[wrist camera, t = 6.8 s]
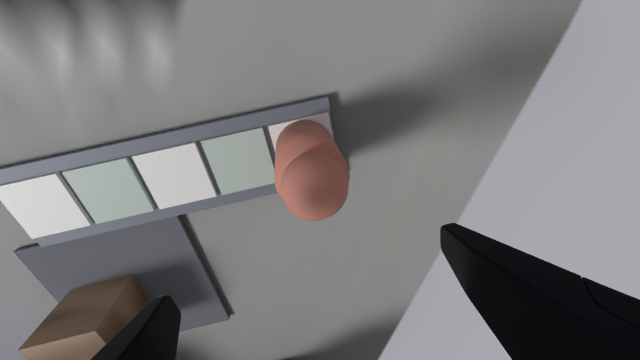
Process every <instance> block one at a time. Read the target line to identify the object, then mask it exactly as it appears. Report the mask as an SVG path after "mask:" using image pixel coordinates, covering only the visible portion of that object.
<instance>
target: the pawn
mask: <svg viewBox="0 0 640 360" xmlns="http://www.w3.org/2000/svg"><path fill="white" fill-rule="evenodd" d="M274 181H275V187H276V190H277V192H278V194H279V196H280V197H281V198H282V199H283V201H284V203H285V205H286V206H287V208H288V209H289V210H290V211H291V212H292V213H294V214H295V215H297V216H298V217H300V218H303V219H306V220H314V221H315V220H323V219H326V218H328V217H330V216H332V215H334V214H335V213H336V212H337V211H339V209H340V208H341V207H342V205H343V204H344V202H345V200H346V198H347V194H348V183H349V168H348V165H347V162H346V160H345V158H344V157H343V155H342V153H341V152H340V150H339V148H338V147H337V145H336V143H335V141H334V140H333V138H332V136H331V135H330V133H329V131H328V130H327V129H326V128H325V127H324V126H323V125H321V124H320V123H318V122H315V121H312V120H298V121H295V122H293V123H291V124H289V125H287V126H286V127H285V128H284V129H283V130H282V131H281V133H280V134H279V136H278V139H277V142H276V153H275V175H274Z"/></svg>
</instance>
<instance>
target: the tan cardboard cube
mask: <svg viewBox="0 0 640 360" xmlns="http://www.w3.org/2000/svg"><path fill="white" fill-rule="evenodd" d="M149 302H150V300H149V299H148V297H147V296H146V294H145V293H144V292H143V290H142V289H141V287H140V286H139V284H138V283H137V281H136V280H135V278H134V277H133V275H129V276H125V277H121V278H117V279H113V280H109V281H105V282H101V283H97V284H93V285H88V286H84V287H80V288H76V289H72V290H70V291H69V292H68V293H67V294H66V296H65V297H64V298H63V299H62V300H61V301H60V303H59V304H58V305H57V306H56V307H55V308H54V309H53V311H52V312H51V313H50V314H49V315H48V316H47V317H46V319H45V320H44V321H43V322H42V323H41V324H40V325H39V327H38V328H37V329H36V330H35V331H34V332H33V333H32V335H31V336H30V337H29V338H28V339H27V340H26V341H25V343H24V344H23V345H22V346H21V347H20V348H19V350H18V351H19V352H20V353H21V354H22V355H23V356H25V357H26V358H27V359H28V360H90V359H91V358H92V357H93V356H94V355H95V354H96V353H97V352H98V351H100V350H101V349H102V348H103V347H104V346H105V345H106V344H107V343H108V342H109V341H110V340H111V339H112V338H113V337H114V336H115V335H116V334H117V333H118V332H119V331H120V330H121V329H122V328H123V327H124V326H125V325H126V324H127V323H128V322H129V321H130V320H132V319H133V318H134V317H135V316H136V315H137V314H138V313H139V312H140V311H141V310H142V309H143V308H144V307H145V306H146V305H147V304H148V303H149Z"/></svg>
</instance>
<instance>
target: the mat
mask: <svg viewBox="0 0 640 360" xmlns="http://www.w3.org/2000/svg"><path fill="white" fill-rule="evenodd" d="M14 253H15V254H16V255H17V256H18V257H19V259H20V260H21V261H22V262H23V263H24V264H25V265H26V266H27V268H28V269H29V270H30V271H31V272H32V273H33V274H34V275H35V277H36V278H37V279H38V280H39V281H40V282H41V283H42V284H43V286H44V287H45V288H46V289H47V290H48V291H49V292H50V293H51V295H52V296H53V297H54V298H55V299H56V300H57V301H58V302H59V303H60V301H61V300H62V299H63V298H64V297H65V296H66V294H67V293H68V292H69V291H70V290H72V289H76V288H80V287H84V286H88V285H93V284H97V283H101V282H105V281H109V280H113V279H117V278H121V277H125V276H129V275H133V277H134V278H135V280H136V281H137V283H138V284H139V286H140V287H141V289H142V290H143V292H144V293H145V294H146V296H147V297H148V299H149V300H150V301H151V300H152V299H153V298H155V297H157V296H161V295H165V294H168V295H170V296H171V297H172V299H173V300H174V302H175V303H176V305H177V306H178V308H179V309H180V312H181V323H180V330H179V332H180V331H184V330H188V329H192V328H196V327H200V326H204V325H208V324H212V323H217V322H221V321H225V320H229V318H230V315H229V313H228V311H227V309H226V307H225V305H224V303H223V301H222V299H221V297H220V295H219V293H218V291H217V289H216V287H215V285H214V283H213V281H212V279H211V277H210V275H209V273H208V271H207V269H206V267H205V265H204V263H203V261H202V259H201V257H200V255H199V253H198V251H197V249H196V247H195V245H194V243H193V241H192V239H191V237H190V235H189V233H188V231H187V229H186V227H185V225H184V223H183V221H182V219H181V217H180V215H178V216H174V217H170V218H165V219H161V220H157V221H152V222H148V223H144V224H139V225H135V226H131V227H127V228H122V229H118V230H114V231H109V232H105V233H101V234H96V235H92V236H88V237H83V238H79V239H75V240H70V241H66V242H62V243H57V244H53V245H49V246H44V247H41V246H40V245H39V244H34V245H30V246H26V247H21V248H18V249H16V250H15V251H14Z"/></svg>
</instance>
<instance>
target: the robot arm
mask: <svg viewBox="0 0 640 360" xmlns="http://www.w3.org/2000/svg"><path fill="white" fill-rule="evenodd" d="M440 241H441V249H442V252H443V254H444V255H445V257H446V259H447V261H448V262H449V264H450V266H451V268H452V270H453V271H454V273H455V275H456V277H457V279H458V280H459V282H460V284H461V286H462V288H463V289H464V291H465V293H466V294H467V296H468V297H469V299H470V300H471V302H472V303H473V304H474V306H475V307H476V309H477V310H478V312H479V313H480V314H481V316H482V317H483V319H484V320H485V322H486V323H487V325H488V326H489V327H490V329H491V330H492V332H493V333H494V334H495V336H496V337H497V339H498V340H499V342H500V343H501V344H502V346H503V347H504V349H505V350H506V352H507V353H508V354H509V356H510V357H511V359H512V360H640V300H639V299H636V298H634V297H631V296H629V295H626V294H624V293H621V292H619V291H616V290H613V289H611V288H609V287H606V286H604V285H601V284H599V283H597V282H594V281H592V280H589V279H587V278H584V277H583V278H581V276H580V275H577V274H575V273H573V272H570V271H568V270H565V269H563V268H561V267H558V266H556V265H554V264H551V263H549V262H546V261H544V260H541V259H539V258H537V257H534V256H532V255H530V254H527V253H525V252H522V251H520V250H518V249H515V248H513V247H511V246H508V245H506V244H504V243H501V242H499V241H496V240H494V239H492V238H489V237H487V236H484V235H482V234H480V233H477V232H475V231H473V230H470V229H468V228H465V227H463V226H461V225H458V224H456V223H450V224H446V225H443V226H441V230H440ZM180 323H181V312H180V309H179V308H178V306H177V305H176V303H175V302H174V300H173V299H172V297H171V296H170V295H168V294H165V295H161V296H157V297H155V298H153V299H152V300H151V301H150V302H149V303H148V304H147V305H146V306H145V307H144V308H143V309H142V310H141V311H140V312H139V313H138V314H137V315H136V316H135V317H134V318H133V319H132V320H130V321H129V322H128V323H127V324H126V325H125V326H124V327H123V328H122V329H121V330H120V331H119V332H118V333H117V334H116V335H115V336H114V337H113V338H112V339H111V340H110V341H109V342H108V343H107V344H106V345H105V346H104V347H103V348H102V349H101V350H100V351H98V352H97V353H96V354H95V355H94V356H93V357H92V358H91V359H90V360H175V357H176V350H177V343H178V337H179V330H180Z"/></svg>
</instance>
